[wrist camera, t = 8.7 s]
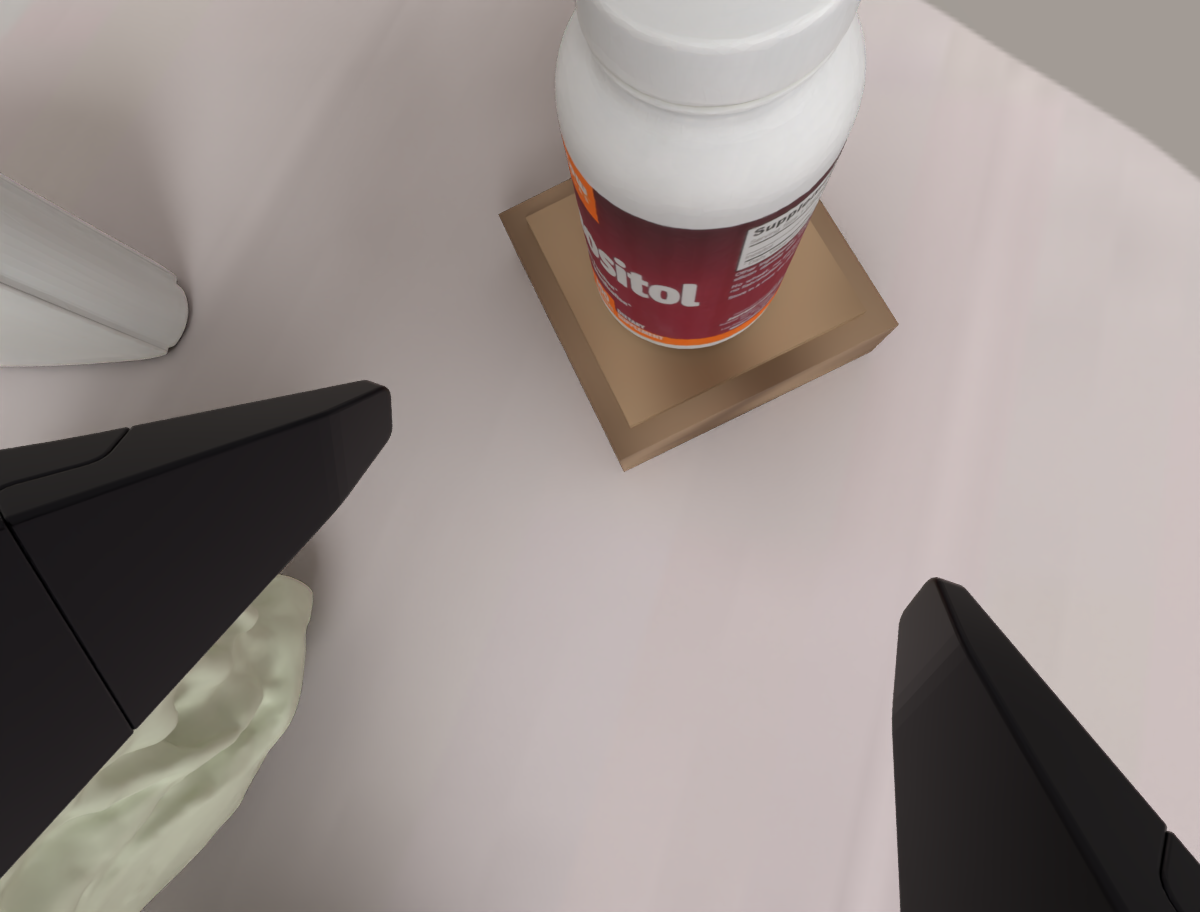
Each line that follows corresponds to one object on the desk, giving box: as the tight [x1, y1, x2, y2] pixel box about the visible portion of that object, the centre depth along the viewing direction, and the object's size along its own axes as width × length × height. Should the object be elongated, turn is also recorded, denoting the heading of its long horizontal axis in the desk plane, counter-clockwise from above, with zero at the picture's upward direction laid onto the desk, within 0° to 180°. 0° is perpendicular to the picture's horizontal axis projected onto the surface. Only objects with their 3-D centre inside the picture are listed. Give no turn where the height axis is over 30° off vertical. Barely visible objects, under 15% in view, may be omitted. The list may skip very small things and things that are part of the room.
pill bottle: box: [555, 0, 866, 349], centre depth 14 cm, size 6×6×11 cm
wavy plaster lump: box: [0, 574, 313, 912], centre depth 16 cm, size 18×13×16 cm
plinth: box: [499, 178, 899, 472], centre depth 21 cm, size 10×10×3 cm
